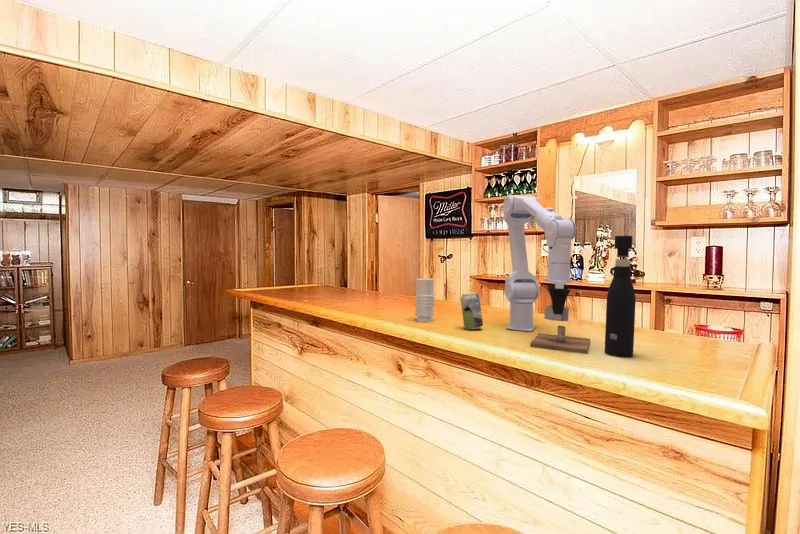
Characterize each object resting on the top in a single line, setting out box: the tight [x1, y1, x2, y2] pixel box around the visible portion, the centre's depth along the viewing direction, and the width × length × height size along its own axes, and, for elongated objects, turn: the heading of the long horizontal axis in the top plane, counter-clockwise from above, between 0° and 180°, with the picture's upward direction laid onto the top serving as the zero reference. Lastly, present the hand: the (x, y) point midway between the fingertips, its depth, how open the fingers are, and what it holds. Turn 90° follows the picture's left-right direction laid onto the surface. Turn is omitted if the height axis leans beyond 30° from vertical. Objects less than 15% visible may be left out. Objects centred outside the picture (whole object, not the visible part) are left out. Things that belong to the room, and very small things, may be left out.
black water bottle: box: [604, 235, 637, 358], centre depth 100 cm, size 6×6×30 cm
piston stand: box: [529, 325, 591, 355], centre depth 110 cm, size 14×14×5 cm
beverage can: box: [460, 291, 484, 330], centre depth 129 cm, size 6×7×12 cm
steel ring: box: [544, 304, 570, 322], centre depth 110 cm, size 6×6×4 cm
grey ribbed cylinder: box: [414, 277, 436, 323], centre depth 142 cm, size 7×7×15 cm
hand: (557, 312), depth 110 cm, fingers closed on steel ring, 6 cm apart
